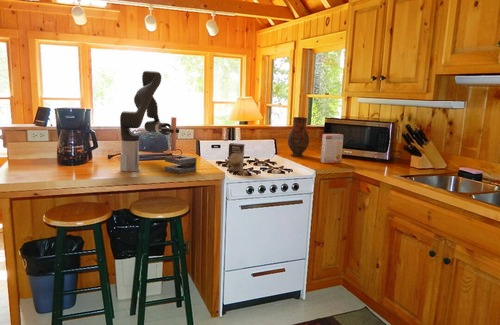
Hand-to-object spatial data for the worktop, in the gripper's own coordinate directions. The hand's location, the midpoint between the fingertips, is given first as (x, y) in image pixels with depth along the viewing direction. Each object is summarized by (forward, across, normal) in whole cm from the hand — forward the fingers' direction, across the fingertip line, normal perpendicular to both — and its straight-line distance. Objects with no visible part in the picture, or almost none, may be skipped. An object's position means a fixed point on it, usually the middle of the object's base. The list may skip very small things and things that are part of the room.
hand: (175, 131), depth 224 cm
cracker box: (+30, +108, +21) cm, 114 cm away
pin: (-3, 0, +12) cm, 12 cm away
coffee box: (+22, +30, +22) cm, 43 cm away
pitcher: (-3, +106, +21) cm, 108 cm away
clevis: (+10, -2, +22) cm, 25 cm away
